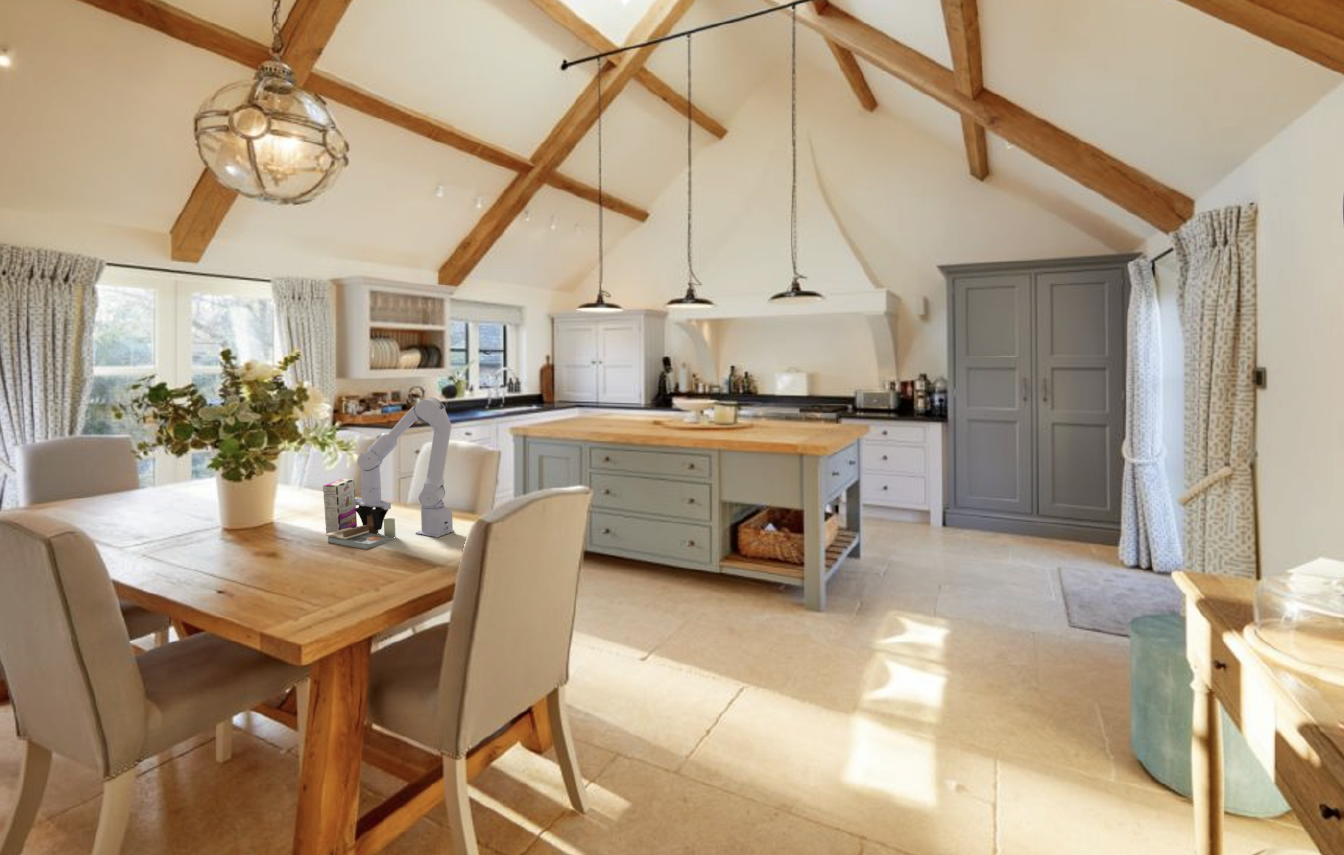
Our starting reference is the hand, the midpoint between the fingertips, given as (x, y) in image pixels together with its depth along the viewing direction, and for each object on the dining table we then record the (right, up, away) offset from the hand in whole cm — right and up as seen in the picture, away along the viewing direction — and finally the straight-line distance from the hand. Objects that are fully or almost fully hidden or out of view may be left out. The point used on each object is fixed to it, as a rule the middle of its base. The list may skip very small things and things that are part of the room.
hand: (372, 528), depth 212 cm
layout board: (0, -3, -9) cm, 9 cm away
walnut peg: (0, -2, 0) cm, 2 cm away
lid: (-5, -1, -7) cm, 9 cm away
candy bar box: (-12, -1, +4) cm, 13 cm away
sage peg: (+7, -2, -4) cm, 9 cm away
